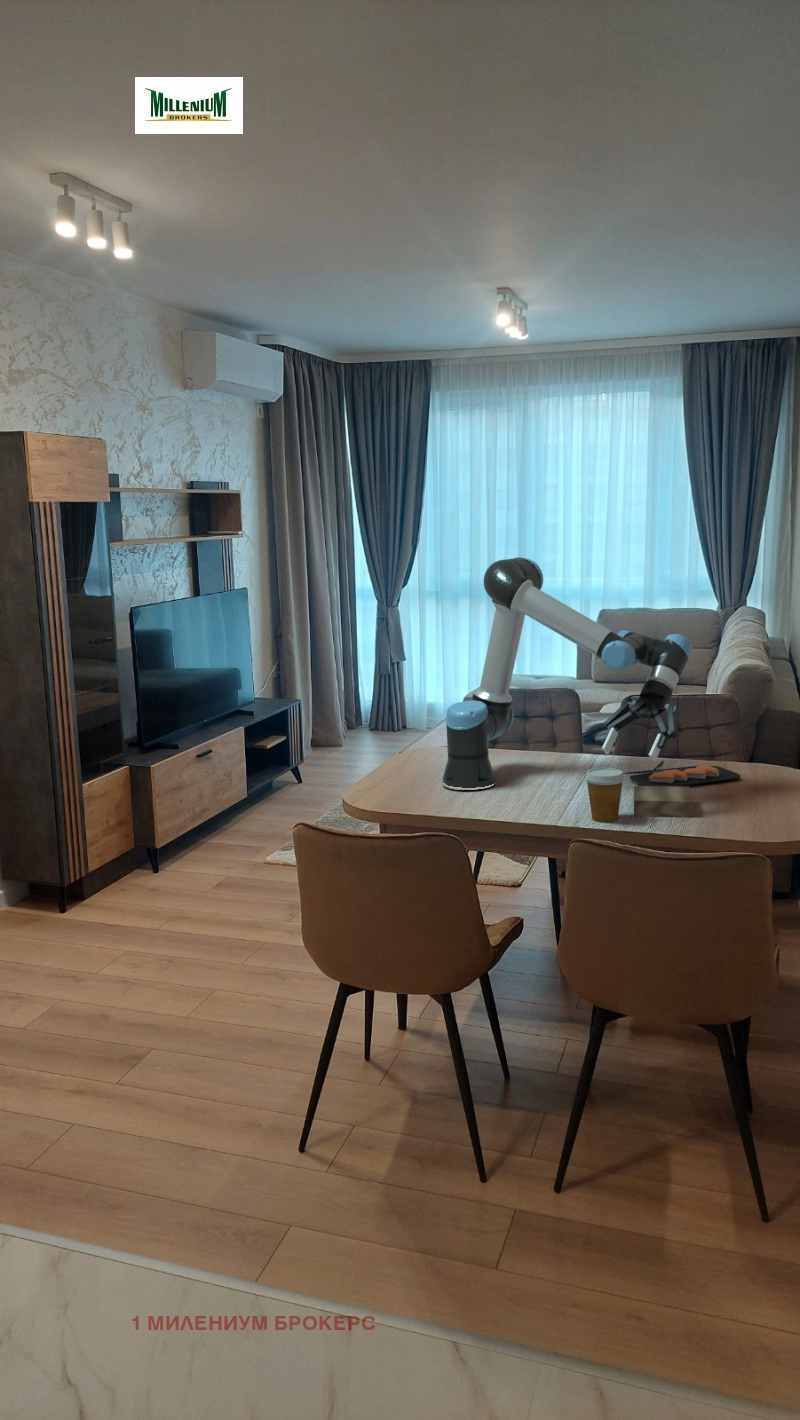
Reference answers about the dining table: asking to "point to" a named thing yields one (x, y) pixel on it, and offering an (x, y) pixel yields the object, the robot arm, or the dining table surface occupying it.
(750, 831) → the dining table surface
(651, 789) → the walnut base
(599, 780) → the disposable coffee cup
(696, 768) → the sushi plate
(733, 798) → the dining table surface
